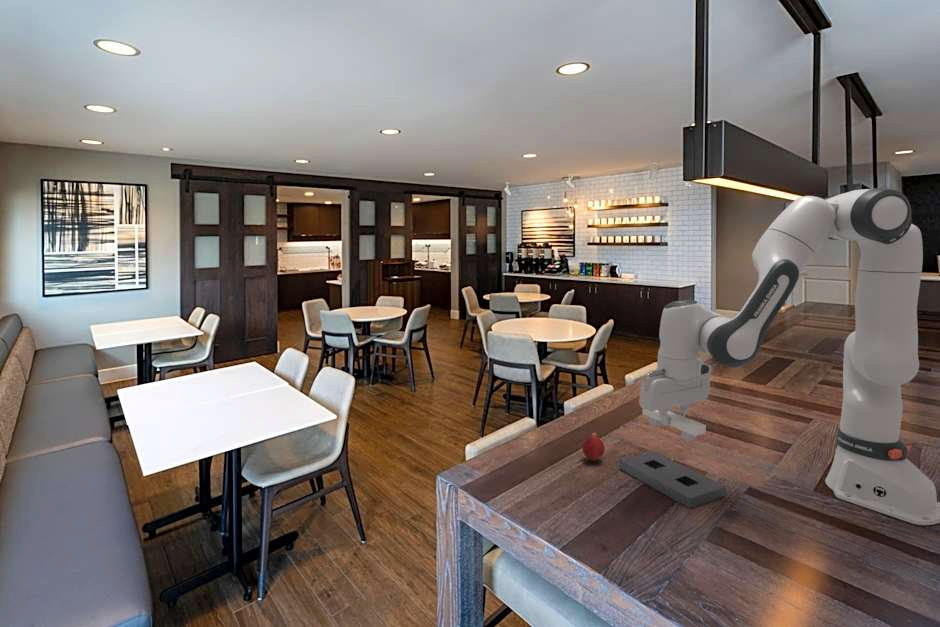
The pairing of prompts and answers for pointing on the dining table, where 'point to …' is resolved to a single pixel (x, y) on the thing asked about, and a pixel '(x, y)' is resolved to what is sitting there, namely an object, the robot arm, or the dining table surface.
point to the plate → (673, 479)
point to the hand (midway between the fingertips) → (672, 422)
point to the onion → (593, 447)
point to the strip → (678, 424)
